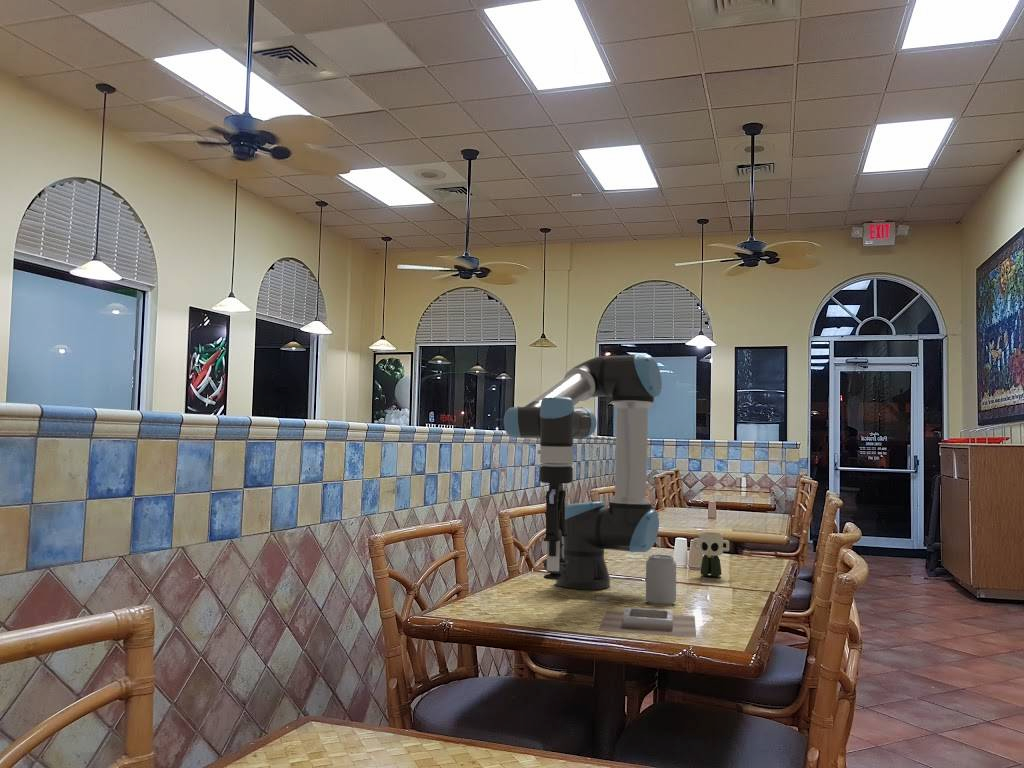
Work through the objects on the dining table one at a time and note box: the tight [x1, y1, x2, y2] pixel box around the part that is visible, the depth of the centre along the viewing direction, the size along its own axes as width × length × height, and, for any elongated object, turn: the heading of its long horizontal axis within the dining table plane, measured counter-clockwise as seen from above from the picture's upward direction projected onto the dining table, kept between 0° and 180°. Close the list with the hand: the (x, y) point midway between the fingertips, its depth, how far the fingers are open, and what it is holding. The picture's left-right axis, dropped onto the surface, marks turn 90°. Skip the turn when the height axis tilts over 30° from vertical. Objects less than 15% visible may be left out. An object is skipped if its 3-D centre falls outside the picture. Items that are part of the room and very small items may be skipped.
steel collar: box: [623, 606, 674, 630], centre depth 175 cm, size 10×10×2 cm
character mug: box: [692, 531, 730, 578], centre depth 244 cm, size 11×7×13 cm, turn 68°
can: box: [645, 554, 677, 607], centre depth 202 cm, size 8×8×12 cm
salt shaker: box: [541, 529, 568, 581], centre depth 180 cm, size 6×6×12 cm
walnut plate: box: [598, 610, 697, 638], centre depth 175 cm, size 20×20×1 cm
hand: (555, 568), depth 180 cm, fingers closed on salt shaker, 6 cm apart
